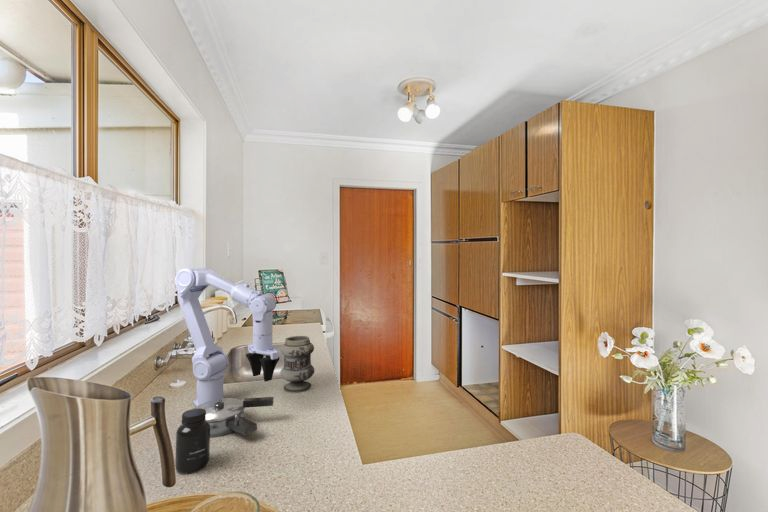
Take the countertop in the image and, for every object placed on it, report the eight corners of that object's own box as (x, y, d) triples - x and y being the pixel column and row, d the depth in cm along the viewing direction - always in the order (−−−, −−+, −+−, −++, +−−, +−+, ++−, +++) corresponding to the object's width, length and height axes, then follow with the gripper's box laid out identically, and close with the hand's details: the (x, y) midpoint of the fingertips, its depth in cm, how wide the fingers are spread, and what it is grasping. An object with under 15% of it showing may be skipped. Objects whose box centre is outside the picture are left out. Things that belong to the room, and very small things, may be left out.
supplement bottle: (194, 476, 75) (195, 421, 75) (167, 472, 76) (168, 417, 76) (216, 458, 82) (216, 407, 82) (191, 455, 83) (191, 404, 83)
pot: (183, 428, 96) (183, 404, 96) (227, 411, 107) (227, 389, 107) (227, 452, 84) (227, 425, 84) (271, 430, 95) (271, 406, 95)
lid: (183, 423, 90) (183, 414, 90) (200, 402, 103) (200, 393, 103) (269, 417, 94) (270, 408, 94) (275, 397, 107) (275, 389, 107)
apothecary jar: (295, 379, 135) (296, 332, 135) (321, 385, 129) (321, 336, 129) (272, 390, 124) (273, 339, 124) (299, 396, 118) (299, 343, 118)
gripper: (238, 332, 110) (238, 375, 110) (263, 340, 100) (262, 387, 100) (259, 329, 115) (259, 370, 115) (284, 335, 105) (284, 380, 105)
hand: (262, 377), depth 108 cm, fingers open, 6 cm apart
